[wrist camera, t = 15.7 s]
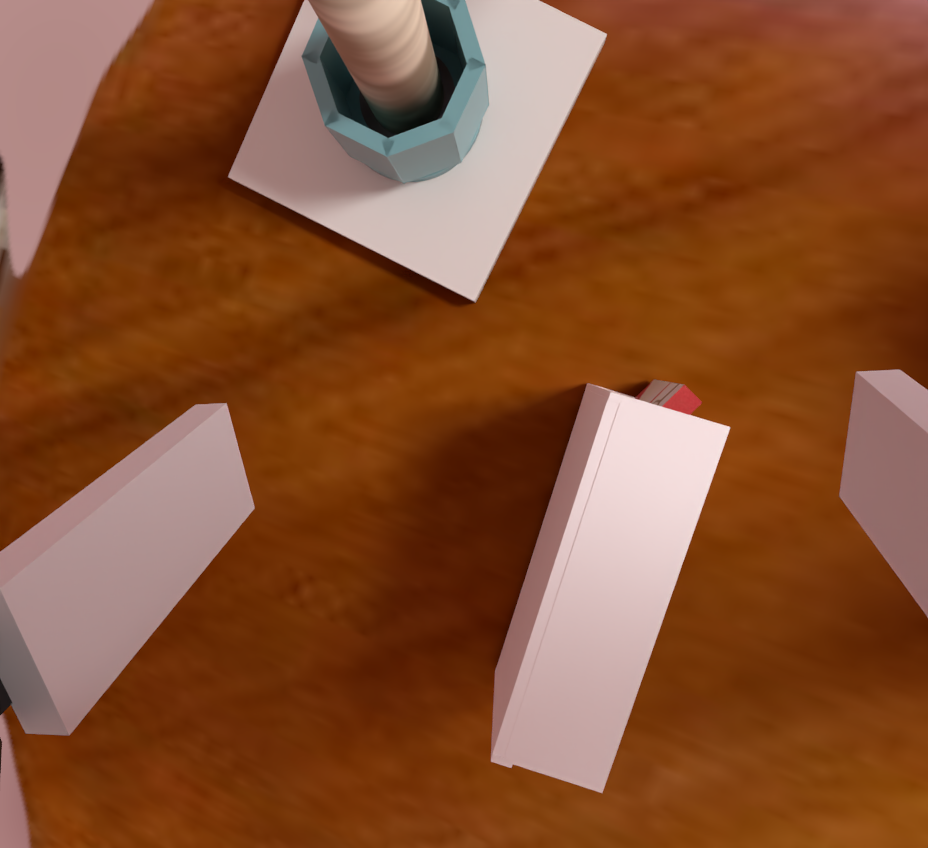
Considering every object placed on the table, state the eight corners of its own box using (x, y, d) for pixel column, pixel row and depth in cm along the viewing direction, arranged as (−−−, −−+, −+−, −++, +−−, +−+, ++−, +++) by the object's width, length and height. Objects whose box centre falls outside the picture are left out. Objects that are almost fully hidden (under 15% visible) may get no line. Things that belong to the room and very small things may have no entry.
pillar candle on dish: (472, 77, 36) (446, -112, 21) (430, 167, 36) (376, 43, 22) (387, 34, 36) (302, -182, 21) (346, 125, 36) (237, -26, 22)
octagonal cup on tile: (604, 43, 37) (626, -30, 30) (475, 303, 39) (467, 291, 32) (350, -84, 37) (313, -184, 30) (234, 181, 39) (175, 143, 32)
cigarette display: (580, 696, 41) (600, 797, 32) (494, 669, 41) (490, 761, 32) (684, 388, 39) (740, 399, 29) (593, 361, 39) (619, 363, 30)
